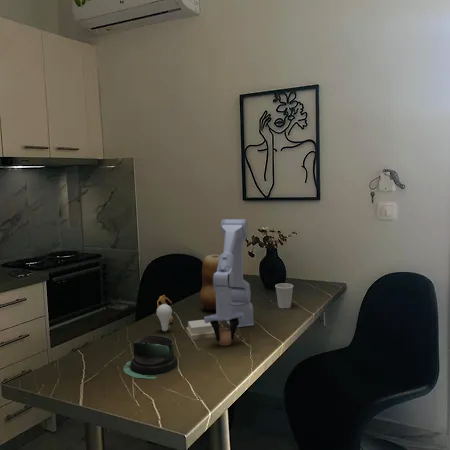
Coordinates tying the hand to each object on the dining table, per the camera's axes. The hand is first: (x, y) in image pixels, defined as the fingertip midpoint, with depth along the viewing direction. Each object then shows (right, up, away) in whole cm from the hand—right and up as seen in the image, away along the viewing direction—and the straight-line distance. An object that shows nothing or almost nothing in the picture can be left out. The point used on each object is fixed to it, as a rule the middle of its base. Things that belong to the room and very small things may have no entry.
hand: (224, 339), depth 173 cm
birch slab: (-9, -1, +11) cm, 14 cm away
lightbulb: (-24, -1, +15) cm, 28 cm away
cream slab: (-10, +1, +11) cm, 15 cm away
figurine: (-25, +1, +25) cm, 35 cm away
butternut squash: (-4, +3, +42) cm, 43 cm away
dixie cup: (+27, +4, +44) cm, 52 cm away
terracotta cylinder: (0, -1, 0) cm, 1 cm away
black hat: (-23, -5, -17) cm, 29 cm away
